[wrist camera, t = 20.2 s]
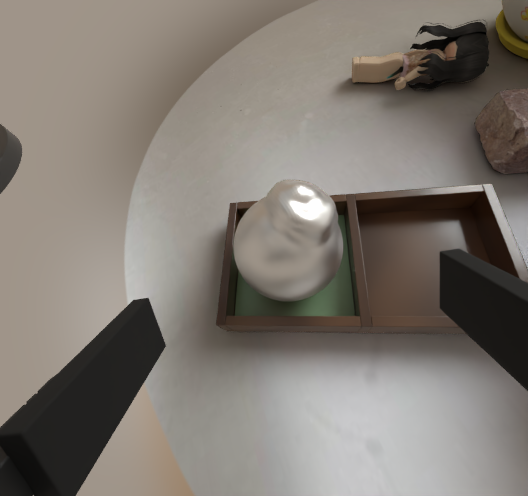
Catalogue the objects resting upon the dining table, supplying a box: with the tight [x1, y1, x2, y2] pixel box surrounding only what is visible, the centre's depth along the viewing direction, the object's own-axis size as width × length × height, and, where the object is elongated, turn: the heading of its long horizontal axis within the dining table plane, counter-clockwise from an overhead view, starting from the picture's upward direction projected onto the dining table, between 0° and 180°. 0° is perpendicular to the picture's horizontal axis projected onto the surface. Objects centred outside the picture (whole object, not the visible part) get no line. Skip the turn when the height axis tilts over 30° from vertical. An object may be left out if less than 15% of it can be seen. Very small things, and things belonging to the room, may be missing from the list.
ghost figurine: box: [233, 180, 343, 301], centre depth 22 cm, size 9×10×10 cm
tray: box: [216, 184, 528, 334], centre depth 24 cm, size 24×12×3 cm, turn 88°
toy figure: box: [352, 20, 489, 91], centre depth 33 cm, size 7×6×15 cm
